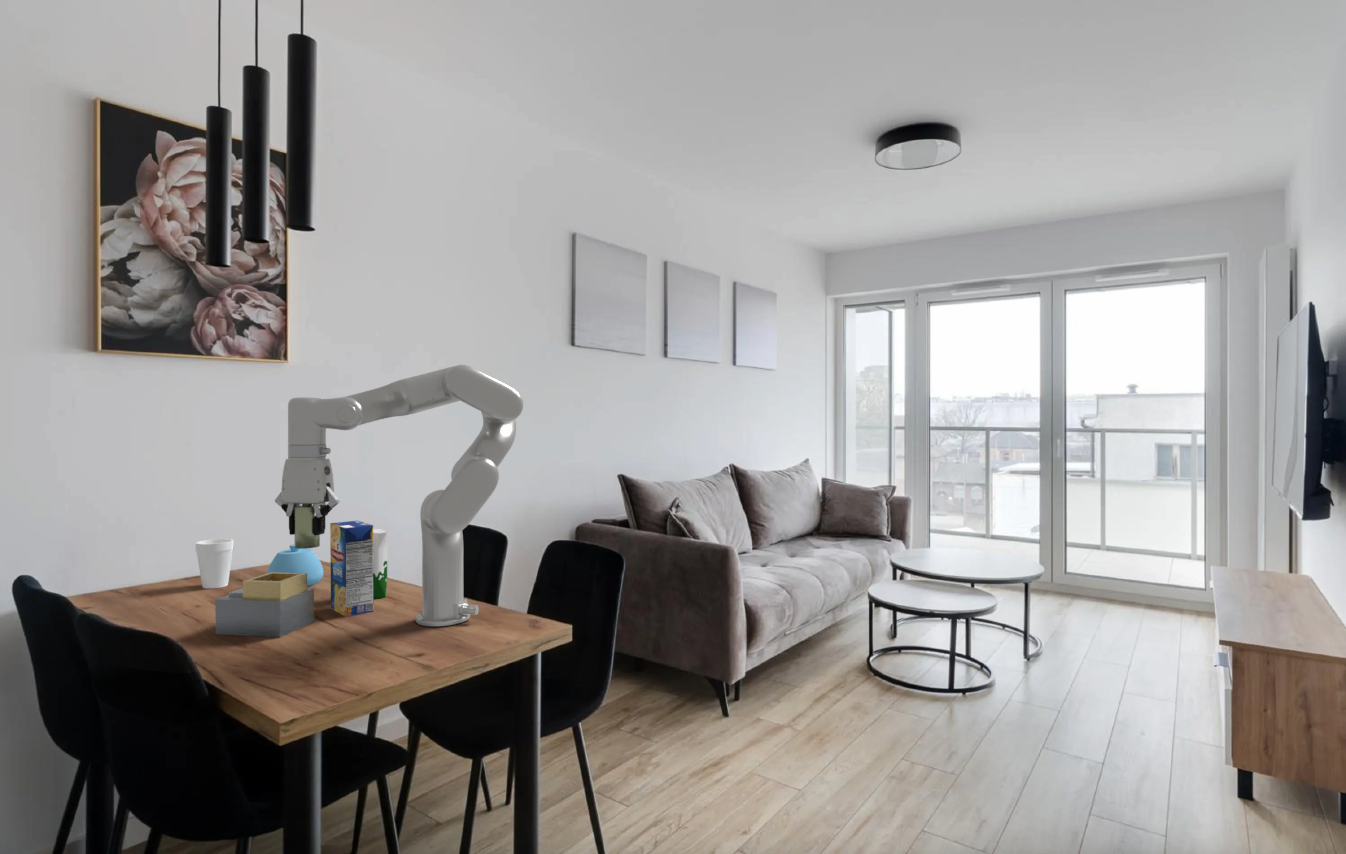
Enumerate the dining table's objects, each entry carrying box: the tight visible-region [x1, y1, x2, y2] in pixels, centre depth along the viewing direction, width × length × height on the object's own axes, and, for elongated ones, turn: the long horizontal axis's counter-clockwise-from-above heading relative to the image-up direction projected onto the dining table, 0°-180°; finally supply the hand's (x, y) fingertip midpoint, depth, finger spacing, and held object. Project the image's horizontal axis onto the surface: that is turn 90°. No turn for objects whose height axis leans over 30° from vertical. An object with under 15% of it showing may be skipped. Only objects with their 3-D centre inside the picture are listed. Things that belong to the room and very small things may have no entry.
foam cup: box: [195, 538, 235, 589], centre depth 207 cm, size 10×9×13 cm
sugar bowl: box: [266, 543, 324, 587], centre depth 210 cm, size 15×15×12 cm
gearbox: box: [214, 572, 315, 638], centre depth 166 cm, size 16×12×12 cm
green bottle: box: [294, 504, 321, 549], centre depth 159 cm, size 5×5×10 cm
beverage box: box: [329, 520, 375, 618], centre depth 182 cm, size 7×11×22 cm, turn 43°
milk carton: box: [373, 528, 388, 600], centre depth 195 cm, size 9×9×20 cm
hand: (307, 533), depth 159 cm, fingers closed on green bottle, 5 cm apart
